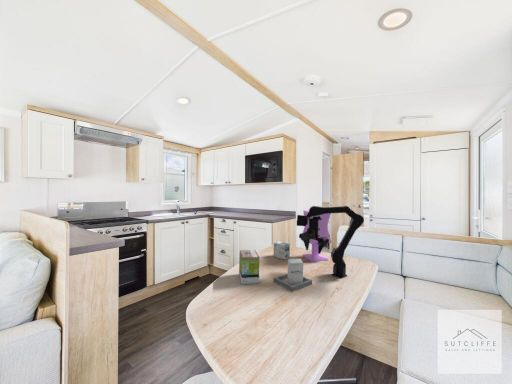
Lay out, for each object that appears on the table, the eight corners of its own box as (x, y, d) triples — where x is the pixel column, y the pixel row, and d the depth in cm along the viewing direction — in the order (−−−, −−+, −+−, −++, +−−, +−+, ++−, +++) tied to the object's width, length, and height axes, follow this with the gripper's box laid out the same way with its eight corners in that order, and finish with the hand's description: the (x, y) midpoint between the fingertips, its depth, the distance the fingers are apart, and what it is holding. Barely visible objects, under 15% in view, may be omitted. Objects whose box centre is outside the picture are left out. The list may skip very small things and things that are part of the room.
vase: (330, 260, 164) (331, 212, 163) (310, 262, 160) (311, 212, 159) (319, 254, 179) (320, 210, 178) (300, 255, 175) (301, 210, 174)
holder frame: (312, 284, 123) (312, 280, 123) (292, 291, 114) (292, 287, 114) (292, 275, 135) (292, 271, 135) (273, 281, 126) (273, 277, 126)
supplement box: (289, 286, 121) (289, 262, 121) (287, 280, 128) (287, 258, 128) (303, 286, 121) (303, 262, 121) (300, 280, 128) (300, 258, 128)
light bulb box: (290, 257, 169) (290, 243, 169) (284, 259, 164) (284, 245, 164) (278, 254, 177) (278, 240, 176) (273, 256, 172) (273, 242, 171)
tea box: (259, 283, 124) (260, 256, 123) (241, 284, 122) (241, 257, 122) (255, 273, 138) (255, 249, 138) (238, 273, 137) (239, 249, 136)
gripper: (293, 225, 142) (292, 250, 142) (317, 230, 127) (317, 258, 127) (305, 224, 148) (304, 247, 149) (329, 228, 134) (329, 254, 134)
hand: (313, 251), depth 140 cm, fingers open, 9 cm apart
